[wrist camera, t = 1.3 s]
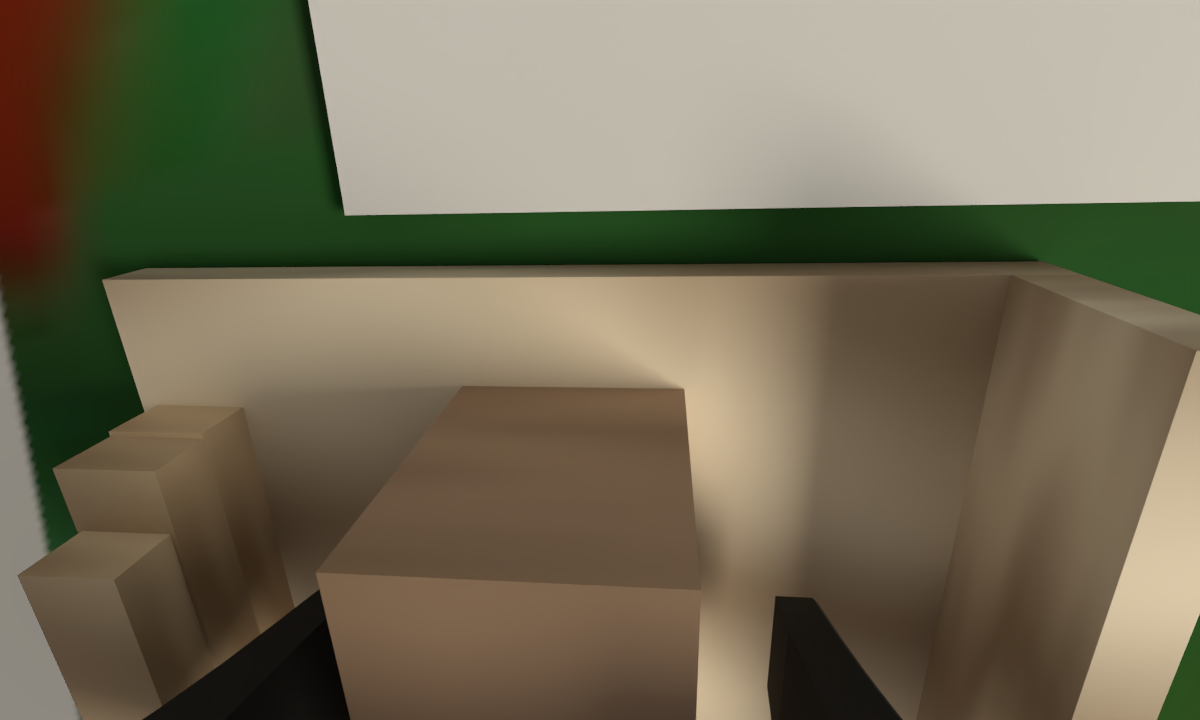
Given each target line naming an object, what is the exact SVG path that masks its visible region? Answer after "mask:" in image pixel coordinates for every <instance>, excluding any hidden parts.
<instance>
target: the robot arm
mask: <svg viewBox="0 0 1200 720" xmlns="http://www.w3.org/2000/svg"><path fill="white" fill-rule="evenodd" d="M767 690H768V698H769V706H770V714H771V720H903V719H902V718H901V717H900V716H899V714H898V713H897V712H896V710H895V709H894V708H893V707H892V705H891V704H890V703H889V701H888V700H887V699H886V698H885V696H884V695H883V694H882V693H881V691H880V690H879V689H878V687H877V686H876V685H875V684H874V682H873V681H872V680H871V678H870V677H869V676H868V674H867V673H866V671H865V670H864V669H863V667H862V666H861V665H860V663H859V662H858V661H857V659H856V658H855V656H854V655H853V654H852V652H851V651H850V649H849V648H848V647H847V645H846V644H845V642H844V641H843V639H842V638H841V637H840V635H839V634H838V632H837V631H836V629H835V628H834V626H833V625H832V623H831V622H830V621H829V619H828V618H827V616H826V615H825V613H824V612H823V610H822V608H821V607H820V605H819V604H818V603H817V602H816V601H815V600H814V599H813V598H807V597H786V596H775V606H774V617H773V627H772V638H771V649H770V660H769V670H768V681H767ZM142 720H350V715H349V711H348V707H347V703H346V699H345V694H344V690H343V686H342V682H341V677H340V673H339V669H338V665H337V661H336V656H335V652H334V648H333V644H332V639H331V635H330V631H329V627H328V623H327V618H326V614H325V610H324V606H323V602H322V597H321V593H320V589H319V590H317V591H316V592H315V593H314V594H312V595H311V596H310V597H308V598H307V599H306V600H304V601H303V602H302V603H300V604H299V605H298V606H297V607H295V608H294V609H293V610H291V611H290V612H289V613H288V614H286V615H285V616H284V617H282V618H281V619H280V620H279V621H277V622H276V623H275V624H273V625H272V626H271V627H269V628H268V629H267V630H266V631H264V632H263V633H262V634H260V635H259V636H258V637H256V638H255V639H254V640H252V641H251V642H250V643H248V644H247V645H246V646H244V647H243V648H242V649H241V650H239V651H238V652H237V653H235V654H234V655H233V656H231V657H230V658H229V659H227V660H226V661H225V662H223V663H222V664H221V665H219V666H218V667H216V668H215V669H214V670H212V671H211V672H209V673H208V674H206V675H205V676H204V677H202V678H201V679H199V680H198V681H197V682H195V683H194V684H192V685H191V686H190V687H188V688H187V689H185V690H184V691H183V692H181V693H180V694H178V695H177V696H175V697H174V698H173V699H171V700H170V701H168V702H167V703H166V704H164V705H163V706H161V707H160V708H159V709H157V710H156V711H154V712H153V713H151V714H150V715H148V716H147V717H145V718H144V719H142Z"/></svg>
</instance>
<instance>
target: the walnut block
mask: <svg viewBox="0 0 1200 720" xmlns="http://www.w3.org/2000/svg"><path fill="white" fill-rule="evenodd" d="M316 576H317V580H318V585H319V589H320V593H321V597H322V602H323V606H324V610H325V614H326V618H327V623H328V627H329V631H330V635H331V639H332V644H333V648H334V652H335V656H336V661H337V665H338V669H339V673H340V677H341V682H342V686H343V690H344V694H345V699H346V703H347V707H348V711H349V715H350V720H696V708H697V682H698V656H699V630H700V604H701V584H700V572H699V560H698V548H697V536H696V524H695V512H694V500H693V488H692V475H691V463H690V451H689V439H688V427H687V415H686V403H685V391H684V389H658V388H580V387H502V386H462V387H461V389H460V390H459V391H458V392H457V394H456V395H455V396H454V397H453V399H452V400H451V401H450V403H449V404H448V405H447V406H446V408H445V409H444V410H443V411H442V413H441V414H440V415H439V417H438V418H437V419H436V420H435V422H434V423H433V424H432V425H431V427H430V428H429V429H428V431H427V432H426V433H425V434H424V436H423V437H422V438H421V439H420V441H419V442H418V443H417V444H416V446H415V447H414V448H413V450H412V451H411V452H410V453H409V455H408V456H407V457H406V458H405V460H404V461H403V462H402V464H401V465H400V466H399V467H398V469H397V470H396V471H395V472H394V474H393V475H392V476H391V477H390V479H389V480H388V481H387V483H386V484H385V485H384V486H383V488H382V489H381V490H380V491H379V493H378V494H377V495H376V497H375V498H374V499H373V500H372V502H371V503H370V504H369V505H368V507H367V508H366V509H365V511H364V512H363V513H362V514H361V516H360V517H359V518H358V519H357V521H356V522H355V523H354V524H353V526H352V527H351V528H350V530H349V531H348V532H347V533H346V535H345V536H344V537H343V538H342V540H341V541H340V542H339V544H338V545H337V546H336V547H335V549H334V550H333V551H332V552H331V554H330V555H329V556H328V557H327V559H326V560H325V561H324V563H323V564H322V565H321V566H320V568H319V569H318V570H317V571H316Z"/></svg>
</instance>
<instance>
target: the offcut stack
mask: <svg viewBox="0 0 1200 720" xmlns="http://www.w3.org/2000/svg"><path fill="white" fill-rule="evenodd" d="M109 435H110V437H109V438H107V439H105V440H103V441H101V442H100V443H98V444H96V445H94V446H92V447H91V448H89V449H87V450H85V451H83V452H81V453H80V454H78V455H76V456H74V457H72V458H71V459H69V460H67V461H65V462H63V463H62V464H60V465H58V466H56V467H54V468H52V469H53V471H54V474H55V476H56V479H57V482H58V484H59V487H60V489H61V492H62V494H63V497H64V499H65V502H66V504H67V507H68V509H69V512H70V514H71V517H72V519H73V522H74V524H75V527H76V530H77V532H78V534H77V535H75V536H74V537H73V538H71V539H70V540H68V541H67V542H65V543H64V544H62V545H61V546H59V547H58V548H57V549H55V550H54V551H52V552H51V553H49V554H48V555H46V556H45V557H43V558H42V559H41V560H39V561H38V562H36V563H35V564H34V565H32V566H31V567H29V568H28V569H26V570H25V571H23V572H22V573H21V574H19V575H18V577H19V580H20V582H21V584H22V587H23V589H24V591H25V593H26V595H27V598H28V600H29V602H30V604H31V606H32V609H33V611H34V613H35V615H36V618H37V620H38V622H39V624H40V626H41V629H42V631H43V633H44V635H45V638H46V640H47V642H48V644H49V646H50V649H51V651H52V653H53V655H54V657H55V660H56V661H57V664H58V666H59V669H60V671H61V673H62V675H63V677H64V680H65V682H66V684H67V686H68V689H69V691H70V693H71V695H72V697H73V700H74V702H75V704H76V706H77V708H78V711H79V713H80V715H81V717H82V720H142V719H144V718H145V717H147V716H148V715H150V714H151V713H153V712H154V711H156V710H157V709H159V708H160V707H161V706H163V705H164V704H166V703H167V702H168V701H170V700H171V699H173V698H174V697H175V696H177V695H178V694H180V693H181V692H183V691H184V690H185V689H187V688H188V687H190V686H191V685H192V684H194V683H195V682H197V681H198V680H199V679H201V678H202V677H204V676H205V675H206V674H208V673H209V672H211V671H212V670H214V669H215V668H216V667H218V666H219V665H221V664H222V663H223V662H225V661H226V660H227V659H229V658H230V657H231V656H233V655H234V654H235V653H237V652H238V651H239V650H241V649H242V648H243V647H244V646H246V645H247V644H248V643H250V642H251V641H252V640H254V639H255V638H256V637H258V636H259V635H260V634H262V633H263V632H264V631H266V630H267V629H268V628H269V627H271V626H272V625H273V624H275V623H276V622H277V621H279V620H280V619H281V618H282V617H284V616H285V615H286V614H288V613H289V612H290V611H291V610H293V609H294V608H295V607H294V603H293V599H292V595H291V591H290V588H289V584H288V580H287V576H286V572H285V568H284V564H283V560H282V557H281V553H280V549H279V545H278V541H277V537H276V533H275V530H274V526H273V522H272V518H271V514H270V510H269V506H268V502H267V499H266V495H265V491H264V487H263V483H262V479H261V475H260V472H259V468H258V464H257V460H256V456H255V452H254V448H253V444H252V441H251V437H250V433H249V429H248V425H247V421H246V417H245V414H244V410H243V407H209V406H155V407H153V408H151V409H149V410H148V411H146V412H144V413H142V414H140V415H138V416H136V417H135V418H133V419H131V420H129V421H127V422H125V423H123V424H122V425H120V426H118V427H116V428H114V429H112V430H111V431H109Z"/></svg>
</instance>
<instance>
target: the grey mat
mask: <svg viewBox="0 0 1200 720" xmlns="http://www.w3.org/2000/svg"><path fill="white" fill-rule="evenodd" d="M308 3H309V9H310V15H311V20H312V26H313V32H314V38H315V44H316V49H317V55H318V61H319V67H320V73H321V78H322V84H323V90H324V96H325V102H326V107H327V113H328V119H329V125H330V131H331V137H332V142H333V148H334V154H335V160H336V166H337V171H338V177H339V183H340V189H341V195H342V200H343V206H344V212H345V215H396V214H456V213H517V212H577V211H637V210H697V209H757V208H817V207H878V206H938V205H998V204H1058V203H1118V202H1179V201H1200V0H308Z"/></svg>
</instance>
